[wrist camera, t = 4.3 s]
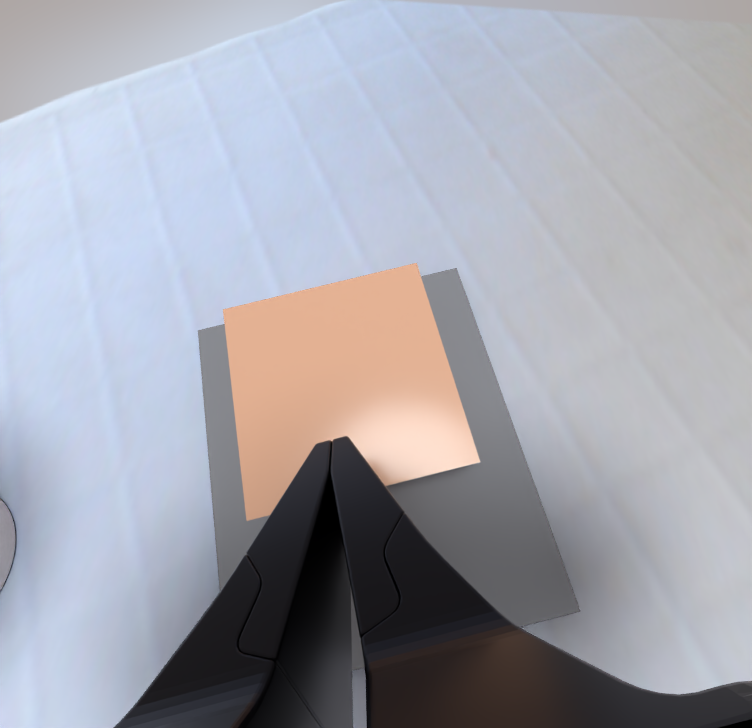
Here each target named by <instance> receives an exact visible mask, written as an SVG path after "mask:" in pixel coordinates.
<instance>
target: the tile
mask: <svg viewBox="0 0 752 728" xmlns="http://www.w3.org/2000/svg"><path fill="white" fill-rule="evenodd" d="M223 314H224V323H225V332H226V341H227V350H228V359H229V368H230V377H231V386H232V395H233V404H234V413H235V422H236V431H237V440H238V449H239V458H240V466H241V475H242V484H243V493H244V502H245V511H246V520H247V521H248V520H252V519H256V518H260V517H264V516H268V515H270V514H271V513H272V511H273V510H274V508H275V506H276V505H277V503H278V502H279V500H280V499H281V497H282V496H283V494H284V492H285V491H286V489H287V488H288V486H289V485H290V483H291V481H292V480H293V478H294V477H295V475H296V474H297V472H298V471H299V469H300V467H301V466H302V464H303V463H304V461H305V460H306V458H307V457H308V455H309V453H310V452H311V450H312V449H313V447H314V446H315V444H317V443H320V442H324V441H328V440H331V441H333V439H336V438H339V437H343V436H348V437H349V438H350V439H351V441H352V442H353V443H354V445H355V446H356V447H357V449H358V450H359V451H360V453H361V454H362V455H363V457H364V458H365V459H366V461H367V462H368V463H369V465H370V466H371V467H372V469H373V470H374V471H375V473H376V474H377V475H378V477H379V478H380V479H381V481H382V482H383V483H384V485H385V486H388V485H392V484H396V483H399V482H403V481H407V480H411V479H415V478H419V477H423V476H427V475H431V474H435V473H439V472H443V471H447V470H451V469H455V468H459V467H463V466H467V465H471V464H475V463H479V462H480V459H479V456H478V453H477V450H476V447H475V444H474V440H473V437H472V434H471V431H470V428H469V425H468V422H467V419H466V416H465V412H464V409H463V406H462V403H461V400H460V397H459V394H458V391H457V388H456V384H455V381H454V378H453V375H452V372H451V369H450V366H449V363H448V359H447V356H446V353H445V350H444V347H443V344H442V341H441V338H440V335H439V331H438V328H437V325H436V322H435V319H434V316H433V313H432V310H431V307H430V303H429V300H428V297H427V294H426V291H425V288H424V285H423V282H422V278H421V275H420V272H419V269H418V266H417V263H414V264H410V265H406V266H402V267H398V268H394V269H390V270H385V271H381V272H377V273H373V274H369V275H365V276H360V277H356V278H352V279H348V280H344V281H340V282H336V283H331V284H327V285H323V286H319V287H315V288H311V289H307V290H302V291H298V292H294V293H290V294H286V295H282V296H277V297H273V298H269V299H265V300H261V301H257V302H253V303H248V304H244V305H240V306H236V307H232V308H228V309H223Z"/></svg>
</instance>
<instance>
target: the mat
mask: <svg viewBox="0 0 752 728" xmlns="http://www.w3.org/2000/svg"><path fill="white" fill-rule="evenodd" d="M421 278H422V282H423V285H424V288H425V291H426V294H427V297H428V300H429V303H430V307H431V310H432V313H433V316H434V319H435V322H436V325H437V328H438V331H439V335H440V338H441V341H442V344H443V347H444V350H445V353H446V356H447V359H448V363H449V366H450V369H451V372H452V375H453V378H454V381H455V384H456V388H457V391H458V394H459V397H460V400H461V403H462V406H463V409H464V412H465V416H466V419H467V422H468V425H469V428H470V431H471V434H472V437H473V440H474V444H475V447H476V450H477V453H478V456H479V459H480V462H479V463H475V464H471V465H467V466H463V467H459V468H455V469H451V470H447V471H443V472H439V473H435V474H431V475H427V476H423V477H419V478H415V479H411V480H407V481H403V482H399V483H396V484H392V485H388V486H386V487H387V489H388V490H389V491H390V493H391V494H392V495H393V497H394V498H395V499H396V501H397V502H398V503H399V505H400V506H401V507H402V509H403V510H404V511H405V514H407V515H408V516H409V518H410V519H411V520H412V522H413V523H414V524H415V526H416V527H417V528H418V529H419V530H420V532H421V533H422V534H423V535H424V537H425V538H426V539H427V540H428V541H429V543H430V544H431V545H432V546H433V547H434V548H435V549H436V550H437V551H438V552H439V553H440V554H441V555H442V556H443V557H444V558H445V559H446V560H447V561H448V562H449V563H450V564H451V565H452V566H453V567H454V568H455V569H456V570H457V571H458V572H459V573H460V574H461V575H462V576H463V577H464V578H465V579H466V580H467V581H468V582H469V583H470V584H471V585H472V586H473V587H474V588H475V589H476V590H477V591H478V592H479V593H480V594H481V595H482V596H483V597H484V598H485V599H486V600H487V601H488V602H489V603H490V604H492V605H493V606H494V607H495V608H496V609H497V610H498V611H499V612H500V613H501V614H503V615H504V616H505V617H506V618H507V619H509V620H510V621H511V622H512V623H514V624H515V625H516V626H518V627H522V626H526V625H529V624H533V623H537V622H541V621H545V620H549V619H552V618H556V617H560V616H564V615H568V614H572V613H576V612H579V611H580V609H579V606H578V603H577V600H576V598H575V595H574V592H573V589H572V587H571V584H570V581H569V578H568V575H567V573H566V570H565V567H564V564H563V562H562V559H561V556H560V553H559V551H558V548H557V545H556V542H555V540H554V537H553V534H552V531H551V528H550V526H549V523H548V520H547V517H546V515H545V512H544V509H543V506H542V504H541V501H540V498H539V495H538V492H537V490H536V487H535V484H534V481H533V479H532V476H531V473H530V470H529V468H528V465H527V462H526V459H525V456H524V454H523V451H522V448H521V445H520V443H519V440H518V437H517V434H516V432H515V429H514V426H513V423H512V420H511V418H510V415H509V412H508V409H507V407H506V404H505V401H504V398H503V396H502V393H501V390H500V387H499V384H498V382H497V379H496V376H495V373H494V371H493V368H492V365H491V362H490V360H489V357H488V354H487V351H486V348H485V346H484V343H483V340H482V337H481V335H480V332H479V329H478V326H477V324H476V321H475V318H474V315H473V312H472V310H471V307H470V304H469V301H468V299H467V296H466V293H465V290H464V288H463V285H462V282H461V279H460V277H459V274H458V271H457V268H455V269H450V270H446V271H442V272H438V273H434V274H430V275H426V276H421ZM198 337H199V349H200V361H201V373H202V385H203V397H204V408H205V420H206V432H207V444H208V456H209V468H210V480H211V492H212V503H213V515H214V527H215V539H216V551H217V563H218V575H219V586H220V591H221V590H222V588H223V587H224V585H225V584H226V582H227V581H228V579H229V578H230V576H231V575H232V573H233V572H234V570H235V569H236V567H237V566H238V564H239V562H240V561H241V559H242V558H243V556H244V555H247V554H246V552H247V550H248V549H249V547H250V546H251V544H252V542H253V541H254V539H255V538H256V536H257V535H258V533H259V531H260V530H261V528H262V527H263V525H264V524H265V522H266V521H267V519H268V517H269V516H270V515H268V516H264V517H260V518H256V519H252V520H248V521H247V520H246V511H245V502H244V493H243V484H242V475H241V466H240V458H239V449H238V440H237V431H236V422H235V413H234V404H233V395H232V386H231V377H230V368H229V359H228V350H227V341H226V332H225V324H223V325H219V326H214V327H210V328H206V329H202V330H198ZM351 636H352V671H353V670H357V669H360V668H364V667H365V666H364V658H363V652H362V646H361V638H360V635H359V630H358V624H357V618H356V613H355V607H354V602H353V596H352V591H351Z"/></svg>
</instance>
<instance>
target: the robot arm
mask: <svg viewBox="0 0 752 728" xmlns="http://www.w3.org/2000/svg"><path fill="white" fill-rule="evenodd" d="M246 554H247V555H244V556H243V558H242V559H241V561H240V562H239V564H238V566H237V567H236V569H235V570H234V572H233V573H232V575H231V576H230V578H229V579H228V581H227V582H226V584H225V585H224V587H223V588H222V590H221V591H220V593H219V594H218V596H217V597H216V598H215V600H214V601H213V602H212V604H211V605H210V606H209V608H208V609H207V611H206V612H205V613H204V615H203V616H202V617H201V619H200V620H199V621H198V623H197V624H196V626H195V627H194V628H193V629H192V631H191V632H190V633H189V635H188V636H187V637H186V639H185V640H184V641H183V643H182V644H181V645H180V647H179V648H178V649H177V651H176V652H175V653H174V654H173V656H172V657H171V658H170V660H169V661H168V662H167V664H166V665H165V666H164V668H163V669H162V670H161V672H160V673H159V674H158V676H157V677H156V678H155V679H154V681H153V682H152V683H151V685H150V686H149V687H148V689H147V690H146V691H145V693H144V694H143V695H142V696H141V698H140V699H139V700H138V701H137V703H136V704H135V705H134V706H133V708H132V709H131V710H130V711H129V712H128V713H127V714H126V715H125V717H124V718H123V719H122V720H121V721H120V722H119V723H118V724H117V725H116V726H115V727H114V728H353V700H352V636H351V591H352V596H353V602H354V607H355V613H356V618H357V624H358V630H359V635H360V638H361V646H362V652H363V658H364V666H365V674H366V711H367V728H752V681H744V682H735V683H731V684H726V685H722V686H718V687H714V688H711V689H707V690H703V691H700V692H696V693H689V694H681V695H677V694H665V693H658V692H654V691H649V690H645V689H641V688H639V687H636V686H634V685H631V684H629V683H627V682H624V681H622V680H620V679H618V678H616V677H614V676H612V675H610V674H608V673H606V672H604V671H602V670H600V669H599V668H597V667H595V666H593V665H591V664H589V663H587V662H585V661H583V660H581V659H579V658H577V657H575V656H573V655H571V654H569V653H567V652H565V651H563V650H561V649H559V648H557V647H555V646H553V645H551V644H549V643H547V642H545V641H543V640H542V639H540V638H538V637H536V636H534V635H532V634H530V633H528V632H526V631H524V630H523V629H521V628H519V627H518V626H516V625H515V624H514V623H512V622H511V621H510V620H509V619H507V618H506V617H505V616H504V615H503V614H501V613H500V612H499V611H498V610H497V609H496V608H495V607H494V606H493V605H492V604H490V603H489V602H488V601H487V600H486V599H485V598H484V597H483V596H482V595H481V594H480V593H479V592H478V591H477V590H476V589H475V588H474V587H473V586H472V585H471V584H470V583H469V582H468V581H467V580H466V579H465V578H464V577H463V576H462V575H461V574H460V573H459V572H458V571H457V570H456V569H455V568H454V567H453V566H452V565H451V564H450V563H449V562H448V561H447V560H446V559H445V558H444V557H443V556H442V555H441V554H440V553H439V552H438V551H437V550H436V549H435V548H434V547H433V546H432V545H431V544H430V543H429V541H428V540H427V539H426V538H425V537H424V535H423V534H422V533H421V532H420V530H419V529H418V528H417V527H416V526H415V524H414V523H413V522H412V520H411V519H410V518H409V516H408V515H407V514H405V511H404V510H403V509H402V507H401V506H400V505H399V503H398V502H397V501H396V499H395V498H394V497H393V495H392V494H391V493H390V491H389V490H388V489H387V487H386V486H385V485H384V483H383V482H382V481H381V479H380V478H379V477H378V475H377V474H376V473H375V471H374V470H373V469H372V467H371V466H370V465H369V463H368V462H367V461H366V459H365V458H364V457H363V455H362V454H361V453H360V451H359V450H358V449H357V447H356V446H355V445H354V443H353V442H352V441H351V439H350V438H349V437H348V436H343V437H339V438H336V439H333V441H331V440H328V441H324V442H320V443H317V444H315V446H314V447H313V449H312V450H311V452H310V453H309V455H308V457H307V458H306V460H305V461H304V463H303V464H302V466H301V467H300V469H299V471H298V472H297V474H296V475H295V477H294V478H293V480H292V481H291V483H290V485H289V486H288V488H287V489H286V491H285V492H284V494H283V496H282V497H281V499H280V500H279V502H278V503H277V505H276V506H275V508H274V510H273V511H272V513H271V514H270V516H269V517H268V519H267V521H266V522H265V524H264V525H263V527H262V528H261V530H260V531H259V533H258V535H257V536H256V538H255V539H254V541H253V542H252V544H251V546H250V547H249V549H248V550H247V552H246Z"/></svg>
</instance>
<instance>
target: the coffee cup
mask: <svg viewBox="0 0 752 728" xmlns="http://www.w3.org/2000/svg"><path fill="white" fill-rule="evenodd" d="M14 551H15V527H14V522H13V519H12V516H11V514H10V511H9V510H8V508H7V506H6V505H5V504H4V502H3V501H2V500H1V499H0V590H1V588H2V587H3V585H4V583H5V581H6V578H7V576H8V573H9V571H10V568H11V565H12V561H13V557H14Z"/></svg>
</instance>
